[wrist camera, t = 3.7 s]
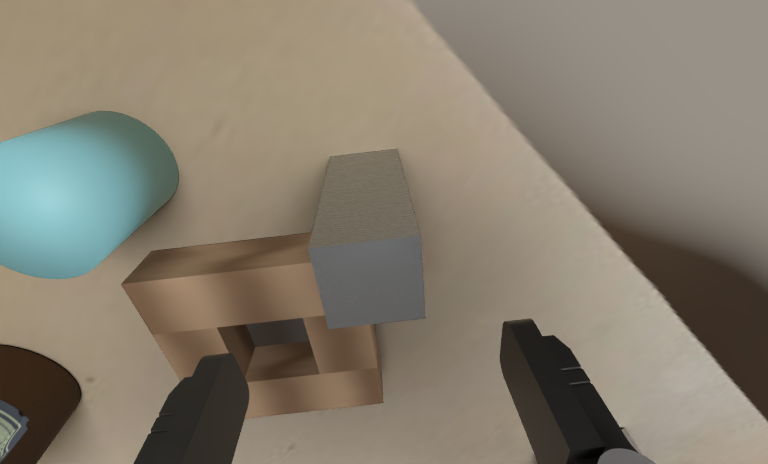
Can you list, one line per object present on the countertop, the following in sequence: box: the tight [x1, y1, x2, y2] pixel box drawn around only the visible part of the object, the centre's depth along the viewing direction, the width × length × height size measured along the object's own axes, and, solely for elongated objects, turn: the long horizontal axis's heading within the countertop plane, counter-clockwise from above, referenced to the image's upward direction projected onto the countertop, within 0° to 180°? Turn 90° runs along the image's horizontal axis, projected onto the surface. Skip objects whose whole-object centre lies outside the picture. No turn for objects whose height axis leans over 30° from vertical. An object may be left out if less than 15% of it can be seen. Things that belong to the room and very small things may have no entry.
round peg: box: [0, 111, 179, 279], centre depth 18 cm, size 6×6×7 cm
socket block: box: [121, 233, 383, 418], centre depth 26 cm, size 14×14×4 cm
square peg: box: [308, 149, 425, 329], centre depth 18 cm, size 4×4×10 cm
